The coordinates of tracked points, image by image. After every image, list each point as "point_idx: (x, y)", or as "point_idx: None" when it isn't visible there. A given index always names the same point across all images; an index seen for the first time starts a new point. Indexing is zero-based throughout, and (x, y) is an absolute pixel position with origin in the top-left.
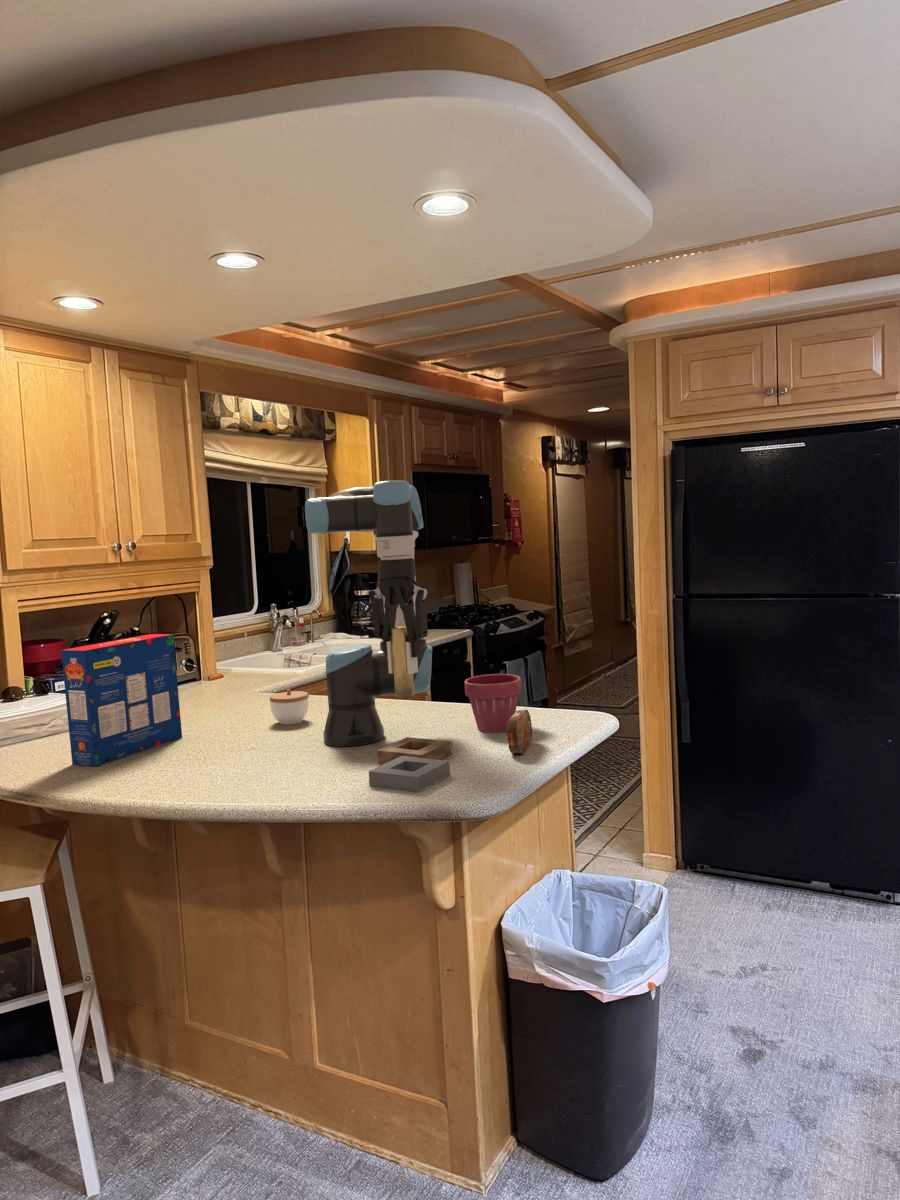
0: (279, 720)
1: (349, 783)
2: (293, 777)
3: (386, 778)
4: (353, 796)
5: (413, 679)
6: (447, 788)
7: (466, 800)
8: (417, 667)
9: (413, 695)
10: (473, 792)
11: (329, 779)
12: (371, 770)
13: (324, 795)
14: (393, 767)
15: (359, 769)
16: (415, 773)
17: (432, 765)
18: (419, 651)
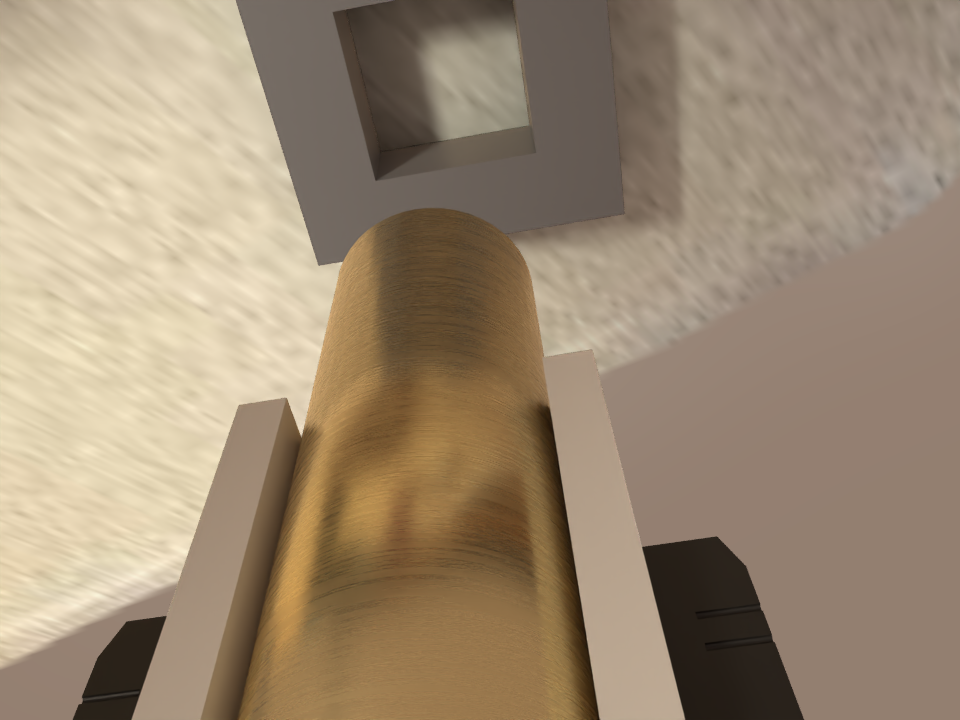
0: None
1: (214, 255)
2: None
3: None
4: None
5: (530, 337)
6: (709, 63)
7: (889, 154)
8: (603, 396)
9: (528, 274)
10: (872, 43)
11: (75, 263)
12: (322, 251)
13: None
14: (365, 139)
15: (21, 60)
16: (570, 173)
17: (559, 5)
18: (759, 610)
